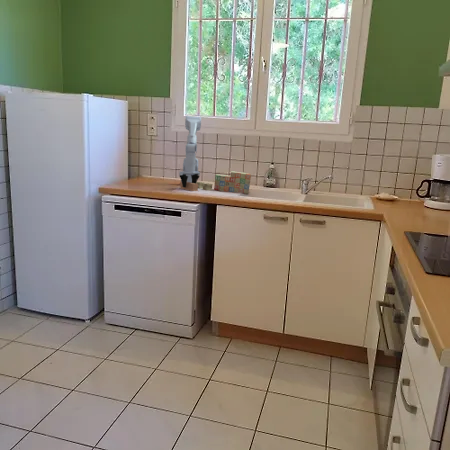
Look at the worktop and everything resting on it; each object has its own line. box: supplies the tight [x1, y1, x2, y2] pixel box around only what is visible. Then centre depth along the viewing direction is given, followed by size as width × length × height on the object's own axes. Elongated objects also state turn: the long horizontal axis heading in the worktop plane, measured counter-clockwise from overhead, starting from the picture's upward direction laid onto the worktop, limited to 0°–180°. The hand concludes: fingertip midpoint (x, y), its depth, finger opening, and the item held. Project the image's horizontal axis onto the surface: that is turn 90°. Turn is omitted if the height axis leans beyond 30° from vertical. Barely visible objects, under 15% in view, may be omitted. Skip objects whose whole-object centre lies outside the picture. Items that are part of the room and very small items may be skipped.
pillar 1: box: [196, 181, 205, 188], centre depth 269 cm, size 4×4×4 cm
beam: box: [179, 180, 199, 192], centre depth 258 cm, size 12×4×4 cm, turn 46°
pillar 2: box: [202, 182, 213, 191], centre depth 264 cm, size 4×4×4 cm
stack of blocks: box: [213, 170, 252, 195], centre depth 264 cm, size 21×6×12 cm, turn 85°
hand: (188, 187), depth 258 cm, fingers open, 7 cm apart
